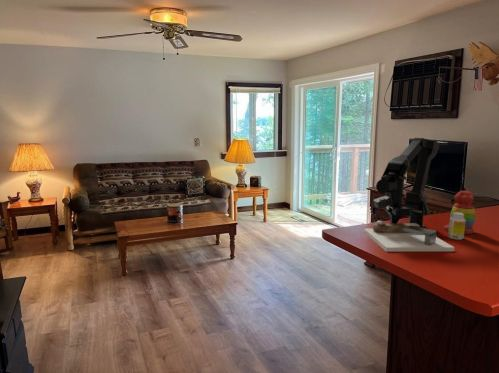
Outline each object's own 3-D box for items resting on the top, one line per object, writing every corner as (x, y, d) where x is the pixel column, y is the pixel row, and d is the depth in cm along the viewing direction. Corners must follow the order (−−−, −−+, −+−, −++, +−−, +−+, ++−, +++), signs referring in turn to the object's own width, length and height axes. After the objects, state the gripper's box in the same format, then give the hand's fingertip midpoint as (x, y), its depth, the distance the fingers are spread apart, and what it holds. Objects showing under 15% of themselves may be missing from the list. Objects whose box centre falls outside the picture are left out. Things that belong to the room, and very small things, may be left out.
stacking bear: (460, 226, 166) (464, 188, 163) (480, 233, 156) (485, 192, 153) (441, 228, 163) (445, 189, 160) (460, 235, 153) (465, 193, 150)
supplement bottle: (466, 239, 148) (469, 214, 146) (456, 240, 146) (459, 215, 144) (454, 235, 153) (457, 211, 151) (444, 236, 151) (447, 212, 149)
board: (363, 231, 157) (364, 218, 156) (421, 231, 158) (422, 218, 157) (386, 251, 133) (387, 236, 132) (454, 251, 133) (455, 235, 132)
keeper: (403, 239, 142) (404, 227, 141) (409, 236, 145) (410, 225, 145) (429, 245, 135) (430, 233, 134) (435, 242, 138) (436, 230, 137)
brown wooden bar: (375, 232, 150) (375, 226, 149) (371, 228, 155) (371, 222, 154) (420, 232, 150) (420, 226, 150) (414, 228, 155) (415, 222, 155)
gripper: (369, 186, 162) (366, 221, 164) (385, 195, 143) (382, 233, 146) (394, 186, 162) (391, 221, 165) (413, 195, 144) (410, 233, 146)
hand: (392, 226), depth 155 cm, fingers closed
